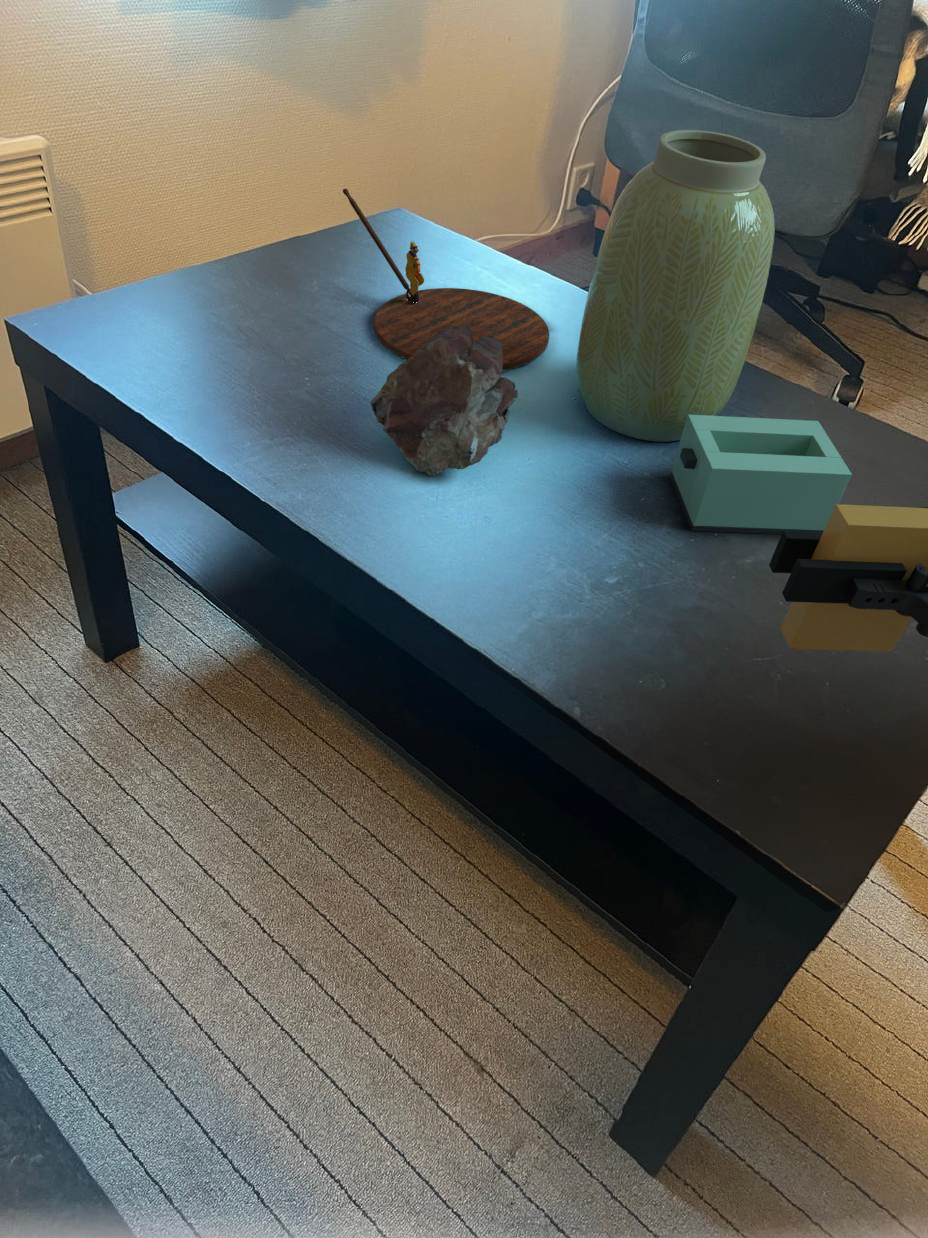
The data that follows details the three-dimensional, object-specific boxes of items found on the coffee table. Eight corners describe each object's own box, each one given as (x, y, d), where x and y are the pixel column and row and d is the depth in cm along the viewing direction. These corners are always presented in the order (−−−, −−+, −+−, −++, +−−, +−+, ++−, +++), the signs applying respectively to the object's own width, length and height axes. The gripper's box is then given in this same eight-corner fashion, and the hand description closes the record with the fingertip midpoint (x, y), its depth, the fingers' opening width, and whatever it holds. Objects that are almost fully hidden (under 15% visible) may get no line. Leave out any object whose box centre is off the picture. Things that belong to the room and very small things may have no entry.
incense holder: (476, 394, 101) (488, 295, 93) (283, 301, 113) (279, 207, 105) (581, 335, 114) (598, 244, 106) (397, 257, 126) (401, 170, 118)
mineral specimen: (385, 490, 95) (453, 390, 101) (488, 501, 87) (555, 393, 94) (330, 402, 86) (409, 300, 93) (439, 407, 79) (516, 295, 85)
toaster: (794, 480, 94) (818, 420, 89) (824, 536, 88) (852, 474, 83) (660, 475, 93) (677, 413, 88) (680, 530, 86) (700, 467, 81)
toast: (880, 630, 62) (947, 508, 55) (892, 652, 60) (963, 529, 53) (779, 627, 61) (835, 503, 54) (789, 649, 59) (847, 524, 53)
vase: (614, 355, 110) (669, 106, 92) (748, 409, 104) (835, 152, 86) (538, 410, 100) (583, 139, 81) (682, 473, 93) (766, 194, 75)
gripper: (1179, 708, 55) (803, 701, 53) (1049, 550, 66) (732, 537, 64) (1264, 616, 50) (853, 603, 48) (1108, 461, 61) (767, 444, 59)
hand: (785, 566), depth 56 cm, fingers closed on toast, 2 cm apart
